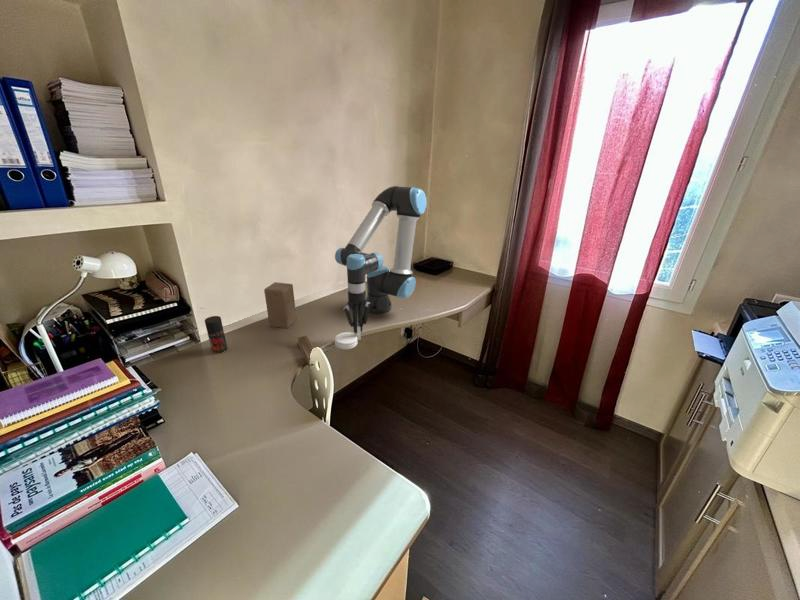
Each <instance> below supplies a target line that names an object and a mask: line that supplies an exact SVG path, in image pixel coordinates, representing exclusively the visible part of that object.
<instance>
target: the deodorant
mask: <svg viewBox="0 0 800 600" xmlns="http://www.w3.org/2000/svg"><path fill="white" fill-rule="evenodd" d="M222 322H223V321H222V318H221V316H219V315H213V316H212V315H211V316H208V317H206V318H205V319H204V324H205V327H206V332H207V333H206V334H207V336H208V340H209V345H210V349H211V353H212V352H213V353H212V354H214V353H221V354H223V353H222V352H224V351H225V352H227V351H228V345H227V341H226V336H225V331H224V327H223V323H222ZM226 350H227V351H226ZM225 352H224V353H225Z"/></svg>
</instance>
